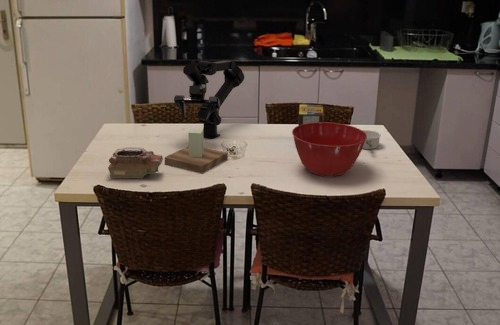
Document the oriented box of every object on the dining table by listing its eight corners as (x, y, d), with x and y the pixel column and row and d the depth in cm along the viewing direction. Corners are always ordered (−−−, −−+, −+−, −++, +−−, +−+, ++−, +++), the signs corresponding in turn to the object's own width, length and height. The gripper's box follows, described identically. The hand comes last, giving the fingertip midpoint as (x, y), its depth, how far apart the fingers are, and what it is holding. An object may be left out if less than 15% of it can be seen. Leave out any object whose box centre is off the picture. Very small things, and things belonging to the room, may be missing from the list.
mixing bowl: (374, 166, 233) (377, 129, 227) (347, 190, 210) (350, 150, 204) (309, 153, 246) (311, 117, 241) (277, 174, 223) (278, 136, 218)
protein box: (321, 138, 265) (323, 104, 260) (321, 149, 251) (323, 114, 245) (297, 137, 266) (299, 104, 260) (297, 148, 252) (298, 113, 246)
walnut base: (191, 151, 246) (191, 144, 245) (227, 159, 238) (227, 152, 237) (164, 164, 232) (164, 157, 231) (201, 173, 223) (201, 166, 222)
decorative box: (117, 167, 229) (115, 143, 225) (167, 169, 227) (166, 146, 223) (106, 180, 216) (104, 155, 213) (159, 182, 215) (158, 158, 211)
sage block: (191, 152, 236) (190, 128, 233) (203, 153, 236) (203, 129, 232) (189, 156, 232) (188, 132, 228) (201, 157, 231) (201, 133, 228)
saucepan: (355, 157, 243) (356, 144, 241) (351, 141, 261) (352, 129, 259) (383, 158, 242) (384, 145, 240) (377, 142, 260) (379, 130, 258)
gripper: (174, 76, 242) (168, 109, 236) (218, 77, 241) (214, 111, 234) (178, 90, 253) (173, 122, 246) (221, 91, 251) (217, 124, 244)
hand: (194, 119), depth 243 cm, fingers open, 9 cm apart
